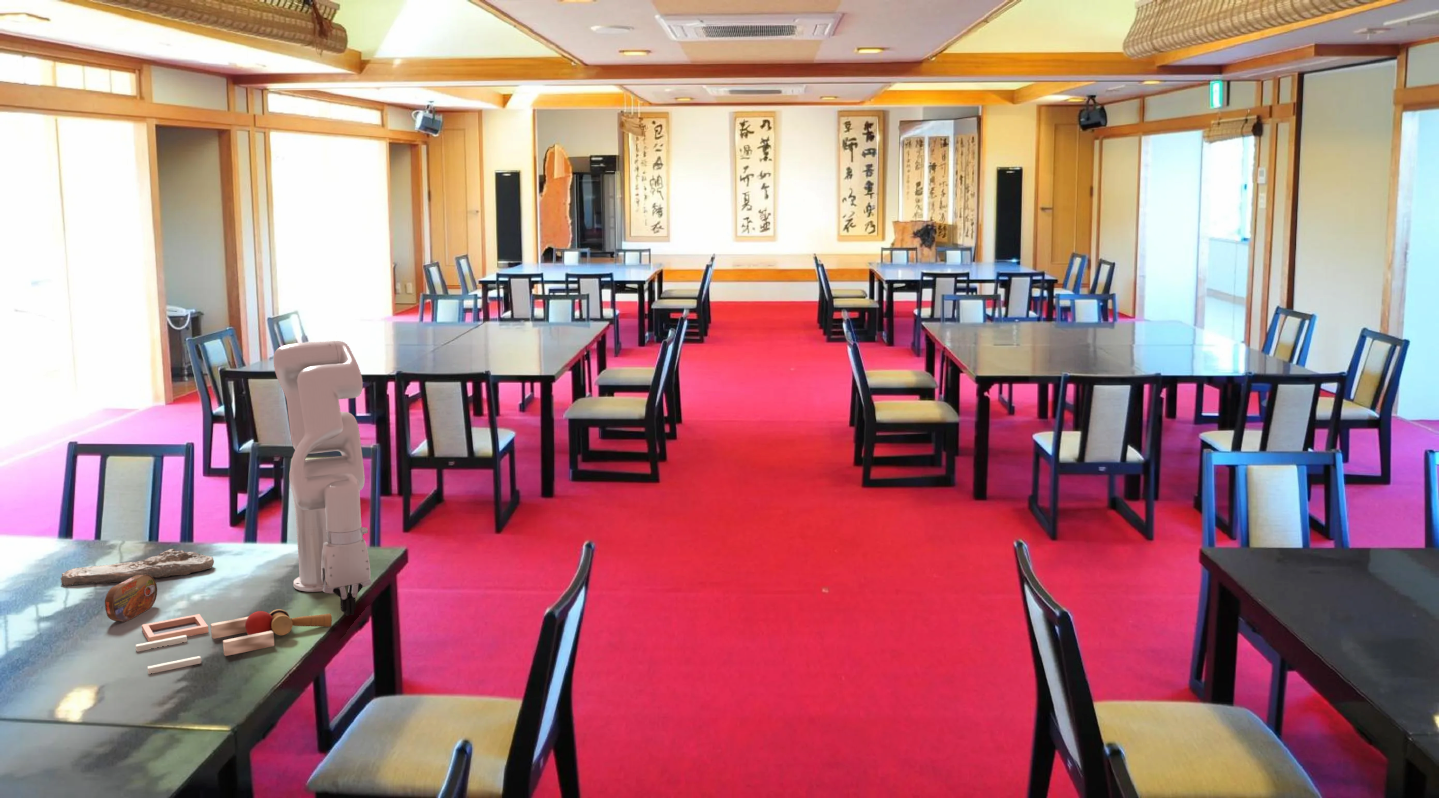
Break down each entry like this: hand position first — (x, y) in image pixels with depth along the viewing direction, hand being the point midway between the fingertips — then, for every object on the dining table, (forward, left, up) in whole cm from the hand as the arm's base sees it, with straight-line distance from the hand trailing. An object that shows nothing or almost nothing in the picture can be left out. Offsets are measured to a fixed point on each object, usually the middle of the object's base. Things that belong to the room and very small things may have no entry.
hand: (348, 613), depth 274 cm
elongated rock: (+34, -60, -2) cm, 69 cm away
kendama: (+13, 0, -2) cm, 13 cm away
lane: (+23, 0, -2) cm, 23 cm away
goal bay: (+38, 0, -2) cm, 38 cm away
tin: (+40, -31, -2) cm, 51 cm away
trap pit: (+34, -14, -2) cm, 37 cm away
